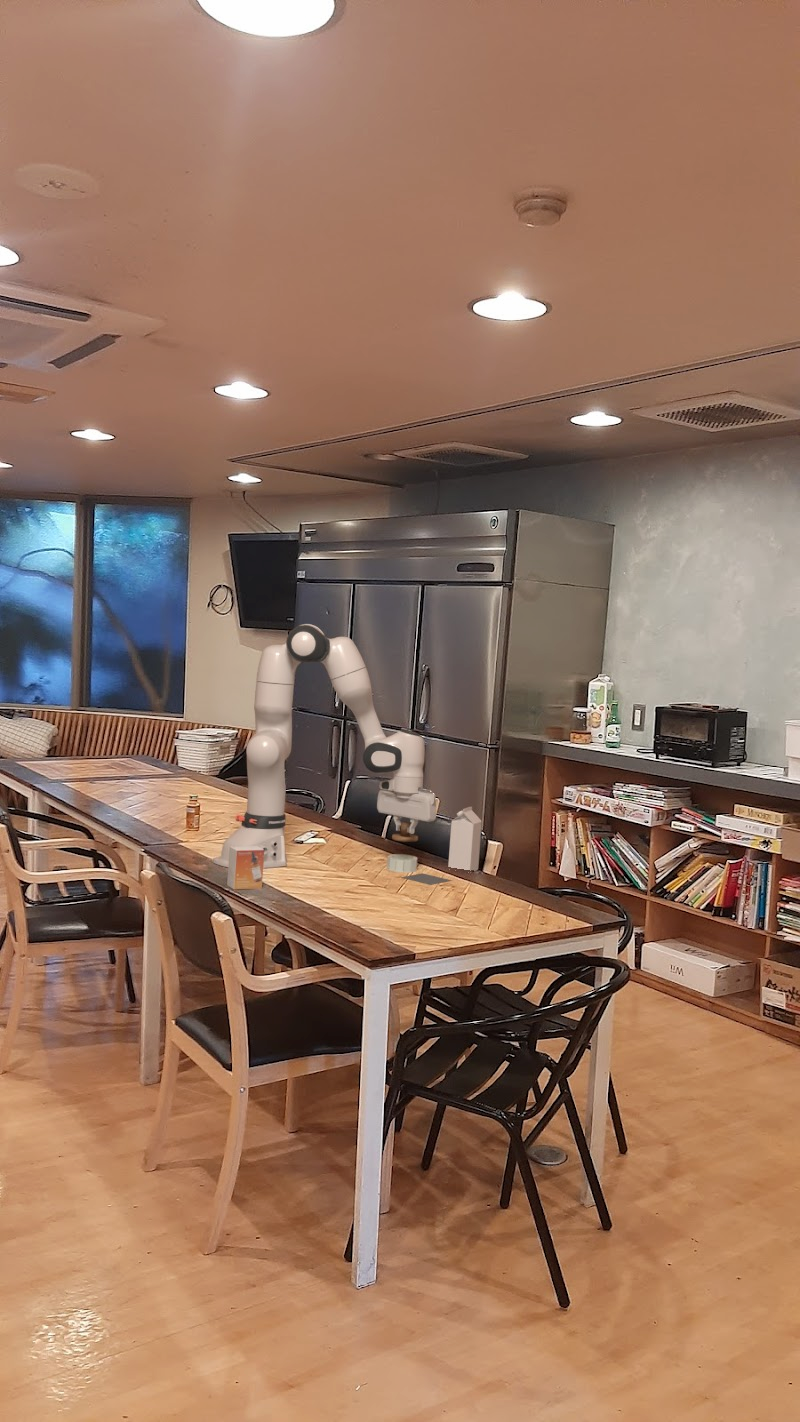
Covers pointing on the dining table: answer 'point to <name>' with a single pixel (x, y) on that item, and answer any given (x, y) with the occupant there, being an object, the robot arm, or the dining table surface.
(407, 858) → the bowl
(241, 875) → the small box
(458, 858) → the milk carton
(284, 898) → the dining table surface
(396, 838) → the lid
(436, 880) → the mat
